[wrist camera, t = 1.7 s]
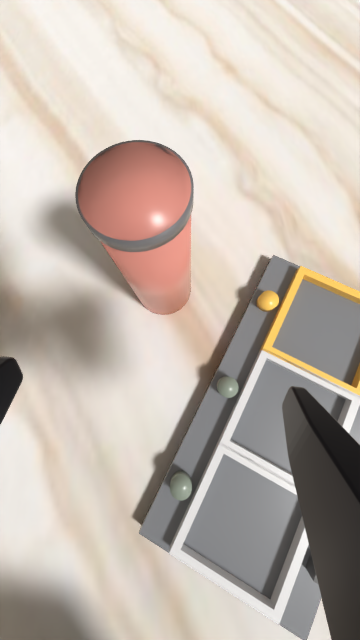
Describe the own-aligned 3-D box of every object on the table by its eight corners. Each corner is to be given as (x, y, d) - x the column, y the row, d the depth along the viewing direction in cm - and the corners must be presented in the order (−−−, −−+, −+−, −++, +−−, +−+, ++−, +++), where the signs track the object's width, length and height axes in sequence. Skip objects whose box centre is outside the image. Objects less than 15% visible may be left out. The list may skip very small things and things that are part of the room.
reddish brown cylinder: (145, 322, 23) (90, 258, 10) (130, 272, 24) (65, 158, 11) (199, 306, 23) (209, 221, 10) (182, 256, 24) (173, 127, 12)
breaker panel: (299, 627, 18) (314, 662, 16) (141, 525, 20) (135, 544, 17) (407, 320, 22) (431, 314, 20) (270, 259, 24) (278, 248, 22)
